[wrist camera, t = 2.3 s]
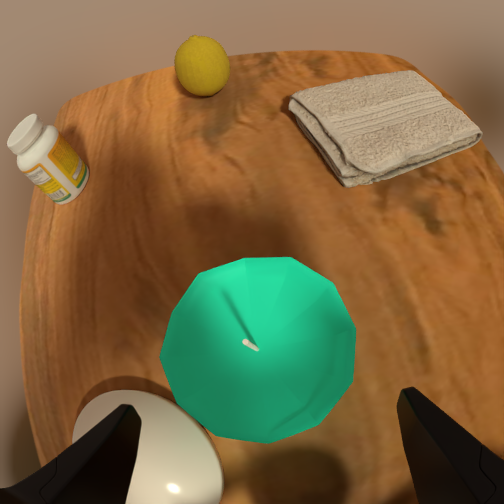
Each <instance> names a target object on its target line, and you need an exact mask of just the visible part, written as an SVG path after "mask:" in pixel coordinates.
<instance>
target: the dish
mask: <svg viewBox="0 0 504 504" xmlns="http://www.w3.org/2000/svg"><path fill="white" fill-rule="evenodd" d="M121 404H130V405H133V406H134V408H135V409H136V411H137V413H138V414H139V416H140V417H141V420H142V426H141V433H140V439H139V446H138V453H137V459H136V463H135V467H134V471H133V475H132V479H131V483H130V487H129V491H128V495H127V499H126V504H220V501H221V499H222V496H223V491H224V471H223V466H222V462H221V459H220V456H219V454H218V451H217V449H216V447H215V445H214V443H213V442H212V440H211V438H210V437H209V435H208V434H207V433H206V431H205V430H204V429H203V427H202V426H201V425H200V424H199V423H198V422H197V421H196V420H195V419H194V418H193V417H192V416H191V415H190V414H188V413H187V412H186V411H185V410H184V409H182V408H181V407H180V406H178V405H177V404H175V403H173V402H172V401H170V400H168V399H166V398H164V397H162V396H159V395H156V394H153V393H150V392H145V391H140V390H115V391H111V392H106V393H104V394H101V395H99V396H97V397H96V398H94V399H93V400H91V401H90V402H89V403H88V404H87V405H86V406H85V407H84V408H83V410H82V411H81V413H80V415H79V416H78V418H77V421H76V423H75V427H74V431H73V439H72V444H73V443H74V442H76V441H77V440H78V439H79V438H81V437H82V436H83V435H84V434H85V433H87V432H88V431H89V430H90V429H92V428H93V427H94V426H95V425H96V424H98V423H99V422H100V421H101V420H102V419H104V418H105V417H106V416H107V415H108V414H110V413H111V412H112V411H113V410H114V409H116V408H117V407H118V406H119V405H121Z"/></svg>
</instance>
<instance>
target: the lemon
mask: <svg viewBox="0 0 504 504" xmlns="http://www.w3.org/2000/svg"><path fill="white" fill-rule="evenodd" d="M175 71H176V74H177V77H178V80H179V82H180V83H181V85H182V86H183V87H184V88H185V89H186V90H187V91H188V92H190V93H192V94H195V95H198V96H213V95H214V94H215V93H217V92H218V91H220V90H221V89H222V88H223V87H224V86H225V84H226V83H227V81H228V79H229V75H230V63H229V59H228V57H227V54H226V52H225V50H224V48H223V47H222V46H221V45H220V43H218V42H217V41H216V40H214V39H212V38H209V37H205V36H196V35H193V36H190V37H189V39H188V40H186V41H185V42H184V43H183V44H182V45H181V46H180V47H179V49H178V50H177V52H176V56H175Z"/></svg>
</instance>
